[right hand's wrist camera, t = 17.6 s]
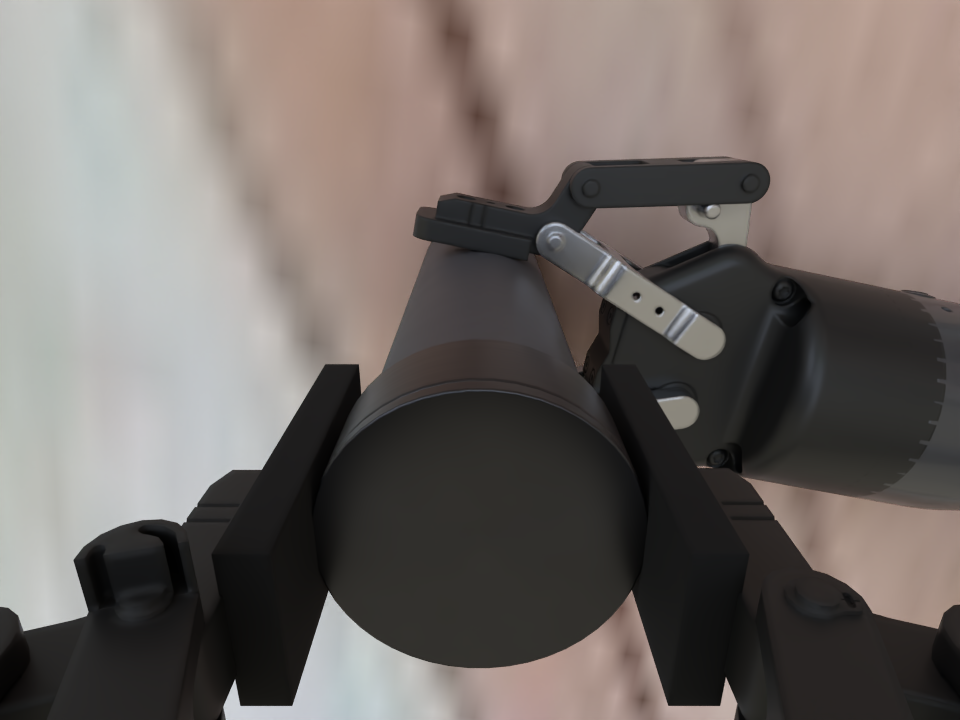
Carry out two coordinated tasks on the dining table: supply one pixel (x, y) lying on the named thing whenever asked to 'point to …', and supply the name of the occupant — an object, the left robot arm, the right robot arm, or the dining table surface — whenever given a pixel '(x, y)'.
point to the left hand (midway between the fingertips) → (405, 303)
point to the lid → (479, 507)
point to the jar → (478, 304)
